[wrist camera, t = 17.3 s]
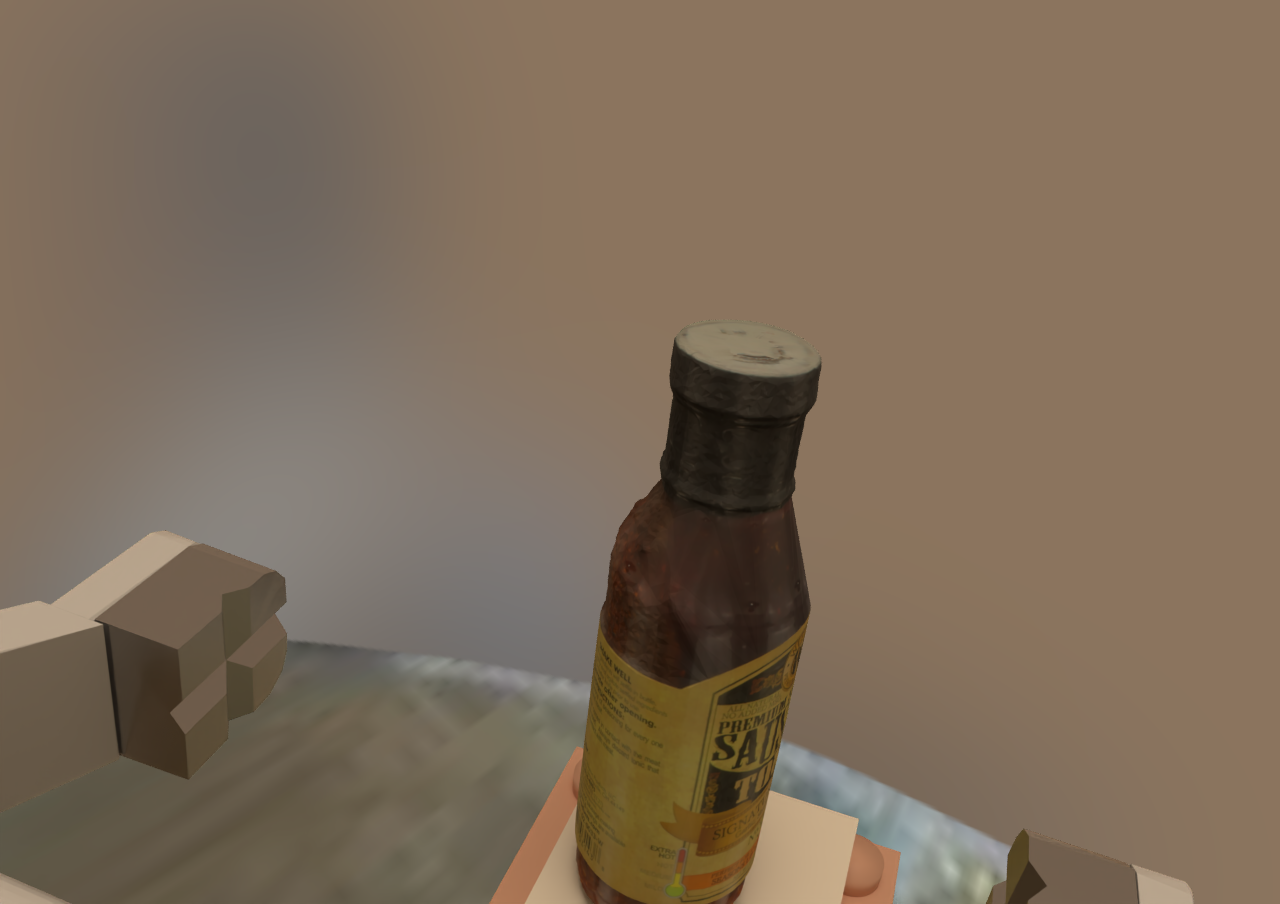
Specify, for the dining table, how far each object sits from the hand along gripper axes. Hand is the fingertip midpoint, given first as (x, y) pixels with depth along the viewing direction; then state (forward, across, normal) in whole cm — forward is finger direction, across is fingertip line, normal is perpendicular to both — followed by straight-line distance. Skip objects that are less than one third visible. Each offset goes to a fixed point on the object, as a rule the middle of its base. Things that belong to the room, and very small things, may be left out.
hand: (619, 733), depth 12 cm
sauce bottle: (+18, +1, +23) cm, 30 cm away
